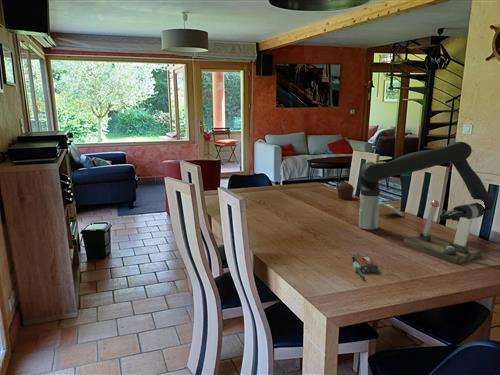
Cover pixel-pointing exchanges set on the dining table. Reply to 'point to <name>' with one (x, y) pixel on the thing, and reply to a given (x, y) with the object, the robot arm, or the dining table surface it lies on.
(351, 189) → the muffin
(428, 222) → the steel toggle lever
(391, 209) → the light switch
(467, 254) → the walnut switch panel
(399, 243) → the dining table surface
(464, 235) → the panel
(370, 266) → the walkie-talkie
